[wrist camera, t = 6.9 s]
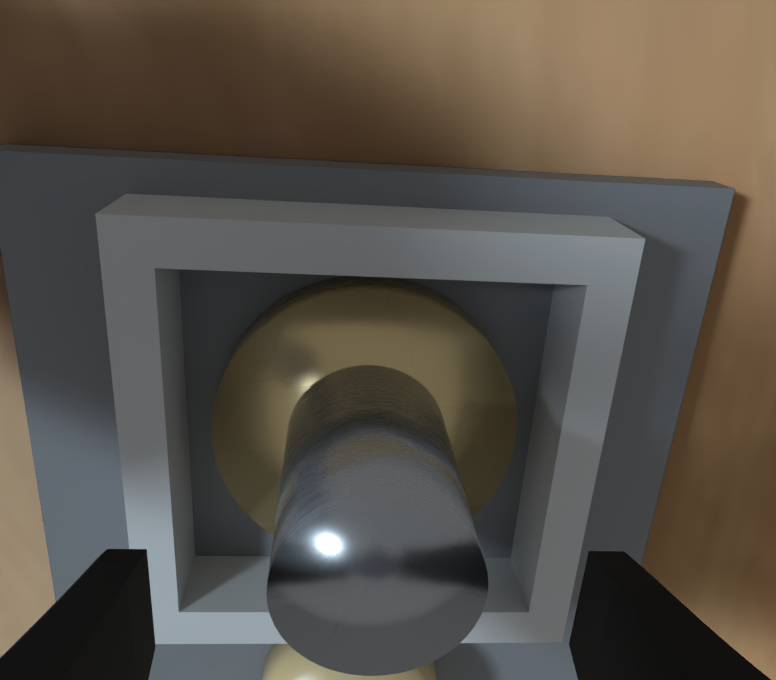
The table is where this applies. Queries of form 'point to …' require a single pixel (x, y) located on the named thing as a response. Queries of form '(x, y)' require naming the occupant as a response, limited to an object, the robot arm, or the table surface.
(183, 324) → the carrier
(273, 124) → the table surface
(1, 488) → the table surface
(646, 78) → the table surface
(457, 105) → the table surface
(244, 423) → the flanged metal cylinder
